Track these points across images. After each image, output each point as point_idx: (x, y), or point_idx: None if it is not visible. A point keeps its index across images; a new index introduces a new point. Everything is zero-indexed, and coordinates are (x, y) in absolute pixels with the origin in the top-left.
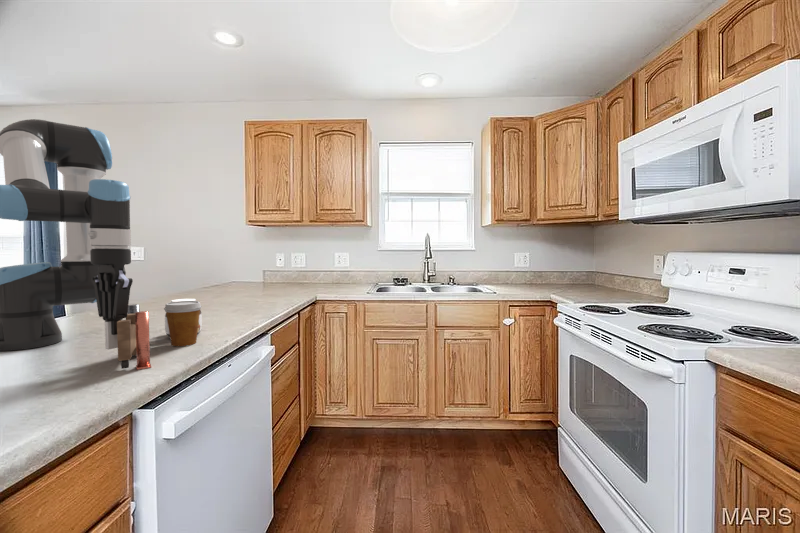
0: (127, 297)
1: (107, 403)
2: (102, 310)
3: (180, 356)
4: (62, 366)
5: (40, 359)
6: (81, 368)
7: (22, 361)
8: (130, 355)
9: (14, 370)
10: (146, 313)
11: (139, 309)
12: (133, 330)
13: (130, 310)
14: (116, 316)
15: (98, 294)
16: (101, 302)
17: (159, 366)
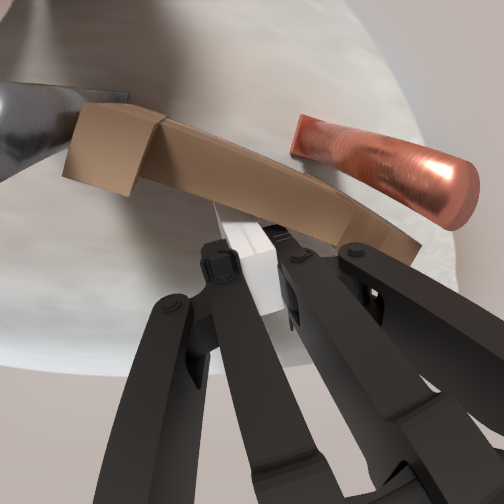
0: (480, 319)
1: (448, 258)
2: (204, 368)
3: (275, 10)
4: (110, 302)
5: (9, 326)
6: (172, 270)
7: (13, 350)
8: (328, 184)
9: (87, 366)
10: (474, 181)
11: (25, 83)
12: (262, 161)
13: (37, 155)
14: (371, 299)
15: (193, 484)
16: (195, 418)
17: (341, 105)
